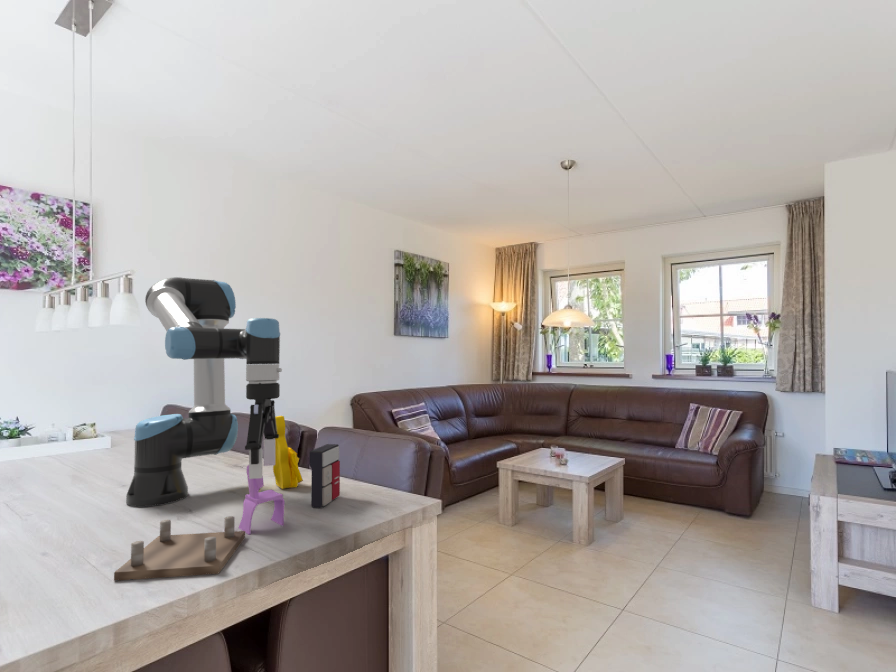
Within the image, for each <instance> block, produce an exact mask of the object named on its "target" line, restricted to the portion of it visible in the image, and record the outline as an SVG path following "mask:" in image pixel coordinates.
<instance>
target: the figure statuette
mask: <svg viewBox="0 0 896 672" xmlns="http://www.w3.org/2000/svg"><path fill="white" fill-rule="evenodd" d="M275 418H276V426H277V434H279V437H278V438H274V439H275V465H272V470H273V475H274V479H275V485H276V486H277V487H278V488H280V489H282V490H284V489H288V488H290V489H291V488H298V487H297V486H299V484H300V483H302V482H304V480H303V477H302V474H301V471H300V469H299V465H298V463H299V460H300V457H298V453H297V452H296V451H295V450H294V449H292V447H289V446H288V443H287V439H286V421H285V416H284V415H277V416H276V415H275Z"/></svg>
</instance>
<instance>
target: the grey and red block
mask: <svg viewBox="0 0 896 672" xmlns="http://www.w3.org/2000/svg"><path fill="white" fill-rule="evenodd" d="M339 459H340V446H339V444H335V443H334V444H333V443H332V444H331V443H328V444H324V445H322V446H319V447H317V448H314V449H312V450H309V467H310V469H311V502H310V503H311V508H316V509H317V508H318V509H322V508H324V507H326V506H327V505H328V504H330V503H331V502H333V501H334V500H335V498H336V499H337V498H338V497H339V496H340V495H341V491H340V490H341V487H340V486H341V483H340V482H341V470H340V469H341V467H340V466H341V463H340V462H341V461H340V460H339Z"/></svg>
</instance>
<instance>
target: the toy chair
mask: <svg viewBox="0 0 896 672" xmlns="http://www.w3.org/2000/svg"><path fill="white" fill-rule="evenodd" d="M246 476H247V478H246V479H247V485H248V493H249V494H248V493H247V494H245V496H244V497H245V498H244V499H243V505H242V507H243V508H242V510H243V511H242V517H241V520H240V522H239V524H238V529H239V530H240V531H245V534H247V535H249V536H250V535H251V531H252V530H251V529H252V519H253V515H254V513H255V509H256V508H257V506H258V505H260V504H261V505H262V504H264V503H267V502H271V501H273V502H274V503H273V504H274V505H273V506H274V507H273V512H272V515H271V518H270V520H271V521H272V522H275V523H276V524H278V525H279V526H281V527H284V524H285V523H284V519H285V499H284V495H283V494H282V493H280V492H276V491H275V490H273V489H267V490H264V491H259V490H260V489H261V488H263V487H264V486H265V485H264V475H263V474H262V478H257V479H249V464H248V465H246Z"/></svg>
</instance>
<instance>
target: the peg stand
mask: <svg viewBox="0 0 896 672" xmlns="http://www.w3.org/2000/svg"><path fill="white" fill-rule="evenodd" d="M235 519H236V518H235V516H234V515H233V516H232V515H231V516H226V517H224V531H218V532H202V533H199V532H198V533H183V534H182V533H181V534H171V533H172V531H171V529H172V527H171V525H172V522H171V521H172V520H171V519H163V520H160V522H159V535H158V536H156V537H155V538H154V539H153V540H152V541H150V543H148V544H147V545H146V546H145V544H144V543H145V541H144V540H136V541H133V542H131V544H130V559H129V560H127V561H126V562H124V564H122V565H121V566H120V567H118V568H117V569H116V570H115V571H114V572H113V581H114V580H118V581H128V580H129V581H131V580H130V579H133V580H146V579H159V578H176V577H178V578H179V577H189V576H192V577H193V576H205V575H219V574H220V573H221V572H222V570H223V569H224V567H225V566H226V564H227V563H228V562H229V560H230V559H231V558H232V556H233V555H234V554H235V553H236V552H237V550H238V548H239V547H240V545H241V544H242V543H243V541H244V540H245V539H246V533H245V531H242V530H239V531H237V530H236V531H235V526H236V525H235V521H236V520H235Z"/></svg>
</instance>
